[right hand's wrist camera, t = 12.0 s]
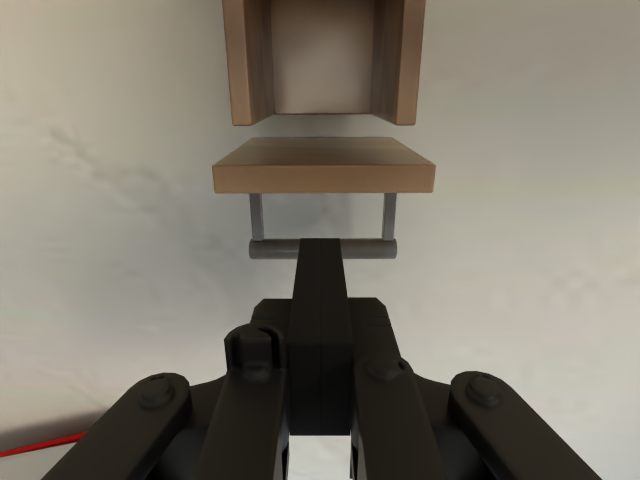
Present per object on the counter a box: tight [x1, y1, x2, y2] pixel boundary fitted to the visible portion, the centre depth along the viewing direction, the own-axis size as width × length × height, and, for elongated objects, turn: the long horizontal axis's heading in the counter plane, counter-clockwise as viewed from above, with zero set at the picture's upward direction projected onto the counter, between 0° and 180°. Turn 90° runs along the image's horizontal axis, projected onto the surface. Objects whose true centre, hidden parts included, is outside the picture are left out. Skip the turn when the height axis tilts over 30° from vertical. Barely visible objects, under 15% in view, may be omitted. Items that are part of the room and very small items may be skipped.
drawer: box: [212, 0, 436, 259], centre depth 19 cm, size 21×9×10 cm, turn 0°
